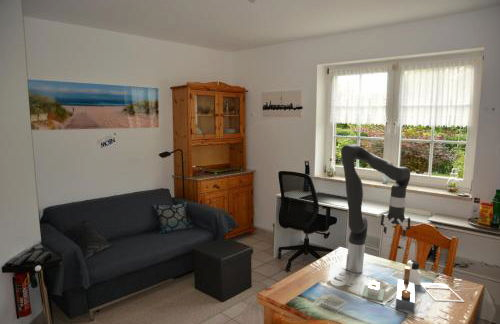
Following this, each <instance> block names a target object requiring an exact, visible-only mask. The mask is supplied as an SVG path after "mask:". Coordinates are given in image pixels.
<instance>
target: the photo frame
mask: <svg viewBox="0 0 500 324" xmlns="http://www.w3.org/2000/svg"><path fill="white" fill-rule="evenodd" d="M419 286H421V288H422V289H423V290H424V291H425V292H426V293H427V294H428V295H429V296H430V297H431V299H433V301H435V302H451V303H465V301H464V300H463V298H461V296H459V294H457V293H456V292H455V291H454V290H453V289H452V288H451V287H450V286H449V285H447V284H446V283H440V282H437V283H435V282H421V284H420V285H419ZM427 289H430V290H431V289H432V290H433V289H434V290H435V289H436V290H450V292H452V293H453V294H454V296H456V297H457V299H459V300H457V299H436V298H435V297H434V296H433V295H432V294H431V293H430V291H429V290H427Z"/></svg>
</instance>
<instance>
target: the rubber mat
mask: <svg viewBox="0 0 500 324" xmlns="http://www.w3.org/2000/svg"><path fill="white" fill-rule="evenodd" d="M368 287H369V285H366V284H364V287H363V291H362V294H361V297H362V298H366V299H369V300H374V301H377V302H381V301H382V303H384V302H383V301H384V298H383V297H385V289H383V288H381V287H380V288H379V295H378V297H375V296H371V295H368Z"/></svg>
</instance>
